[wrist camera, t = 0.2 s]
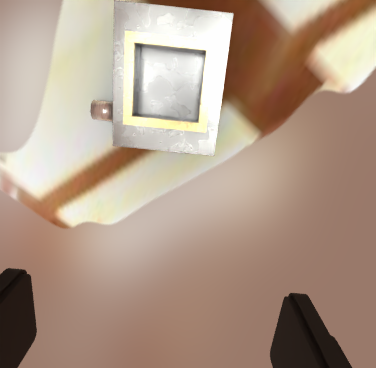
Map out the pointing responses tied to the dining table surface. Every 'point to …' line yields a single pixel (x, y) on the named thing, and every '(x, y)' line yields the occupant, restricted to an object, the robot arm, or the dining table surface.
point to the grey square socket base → (166, 77)
